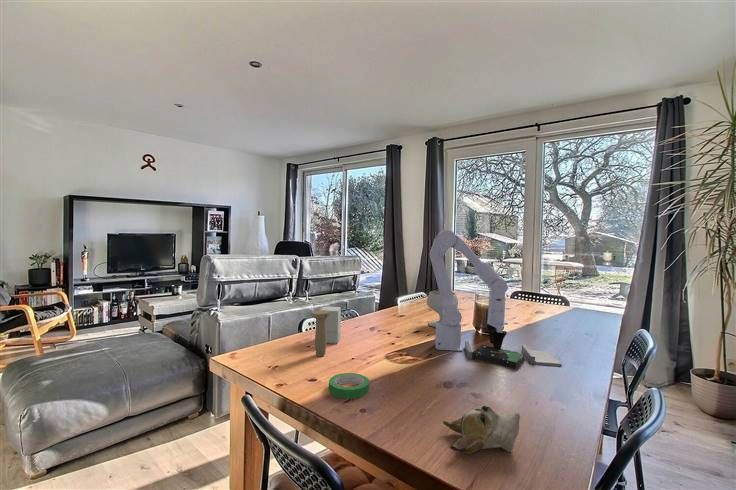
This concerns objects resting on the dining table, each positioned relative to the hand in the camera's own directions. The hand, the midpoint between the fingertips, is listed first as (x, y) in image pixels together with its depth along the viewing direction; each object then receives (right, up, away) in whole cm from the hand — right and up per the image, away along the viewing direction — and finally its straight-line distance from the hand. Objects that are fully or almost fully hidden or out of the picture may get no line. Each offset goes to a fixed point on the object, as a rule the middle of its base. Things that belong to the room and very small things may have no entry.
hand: (495, 346), depth 132 cm
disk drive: (-2, -2, -9) cm, 10 cm away
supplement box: (-62, 0, +8) cm, 62 cm away
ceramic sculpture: (-23, -5, -58) cm, 63 cm away
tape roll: (-52, -3, -33) cm, 62 cm away
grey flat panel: (+3, -2, -6) cm, 7 cm away
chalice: (-13, 0, +32) cm, 35 cm away
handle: (-63, -1, -8) cm, 64 cm away
